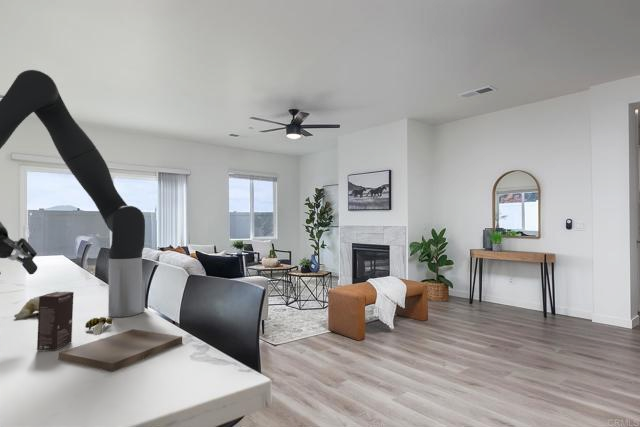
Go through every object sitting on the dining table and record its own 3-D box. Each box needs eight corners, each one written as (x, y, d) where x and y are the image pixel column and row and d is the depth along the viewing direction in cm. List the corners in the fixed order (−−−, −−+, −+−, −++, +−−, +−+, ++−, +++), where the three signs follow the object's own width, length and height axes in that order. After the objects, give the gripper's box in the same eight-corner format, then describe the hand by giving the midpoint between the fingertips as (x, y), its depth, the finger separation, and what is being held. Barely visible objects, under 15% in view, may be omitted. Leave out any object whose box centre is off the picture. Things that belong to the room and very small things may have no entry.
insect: (90, 318, 104) (98, 302, 104) (112, 325, 106) (120, 309, 106) (77, 337, 93) (86, 319, 93) (101, 344, 95) (110, 326, 95)
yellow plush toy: (7, 297, 114) (64, 287, 126) (8, 316, 115) (64, 304, 127) (17, 306, 108) (76, 295, 120) (17, 326, 109) (76, 313, 121)
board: (132, 335, 94) (132, 329, 94) (182, 343, 88) (182, 336, 88) (58, 359, 78) (58, 352, 78) (112, 371, 71) (112, 363, 71)
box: (57, 350, 83) (57, 296, 83) (36, 351, 83) (36, 296, 83) (74, 342, 89) (74, 291, 89) (54, 342, 89) (54, 291, 89)
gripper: (-47, 214, 84) (-8, 266, 82) (18, 215, 98) (53, 260, 95) (-64, 237, 86) (-27, 290, 83) (2, 235, 99) (36, 280, 96)
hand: (16, 274), depth 89 cm, fingers open, 8 cm apart
